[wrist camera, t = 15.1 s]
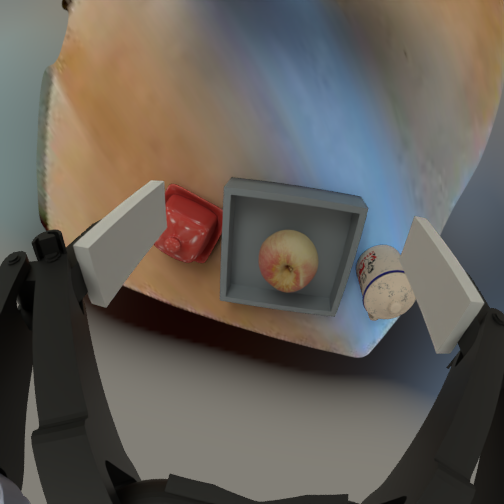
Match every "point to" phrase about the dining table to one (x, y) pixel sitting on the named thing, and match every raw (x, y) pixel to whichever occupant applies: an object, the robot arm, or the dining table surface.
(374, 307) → the teacup with lid
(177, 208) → the butter dish
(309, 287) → the bin
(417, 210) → the dining table surface
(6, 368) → the robot arm
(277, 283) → the apple
